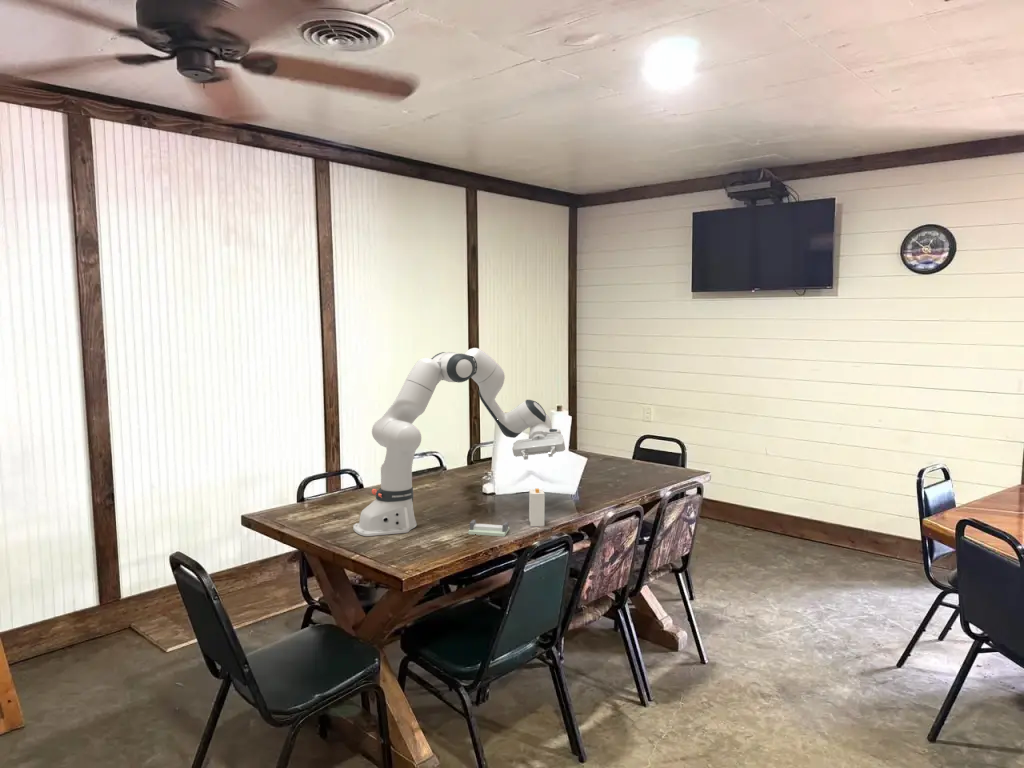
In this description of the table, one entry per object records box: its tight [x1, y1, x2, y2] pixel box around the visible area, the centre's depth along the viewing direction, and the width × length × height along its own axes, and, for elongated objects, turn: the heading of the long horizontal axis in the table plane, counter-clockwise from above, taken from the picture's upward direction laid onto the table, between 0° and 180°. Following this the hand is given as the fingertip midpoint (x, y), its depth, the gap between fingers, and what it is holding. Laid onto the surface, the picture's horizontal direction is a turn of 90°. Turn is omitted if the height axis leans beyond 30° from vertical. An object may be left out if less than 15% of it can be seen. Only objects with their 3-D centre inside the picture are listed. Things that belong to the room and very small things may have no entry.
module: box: [528, 488, 546, 527], centre depth 255 cm, size 6×5×13 cm
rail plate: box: [467, 519, 510, 538], centre depth 245 cm, size 8×13×3 cm, turn 78°
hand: (537, 456), depth 262 cm, fingers open, 8 cm apart
